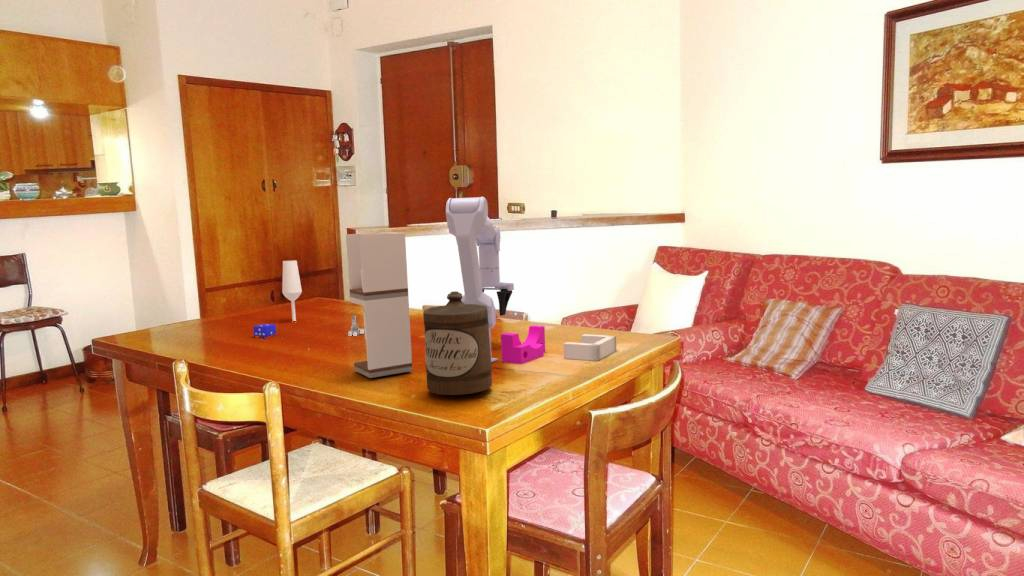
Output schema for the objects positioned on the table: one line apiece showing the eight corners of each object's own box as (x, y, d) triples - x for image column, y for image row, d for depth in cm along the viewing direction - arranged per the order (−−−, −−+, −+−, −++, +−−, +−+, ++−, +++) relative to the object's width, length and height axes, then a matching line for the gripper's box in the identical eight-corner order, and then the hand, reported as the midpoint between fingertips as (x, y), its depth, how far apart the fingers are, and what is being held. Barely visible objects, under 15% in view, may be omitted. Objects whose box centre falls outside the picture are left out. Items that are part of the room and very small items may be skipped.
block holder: (597, 361, 182) (597, 345, 181) (563, 358, 186) (563, 343, 186) (616, 350, 194) (616, 336, 193) (584, 348, 198) (584, 334, 198)
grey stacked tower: (395, 363, 188) (388, 232, 183) (412, 370, 179) (404, 232, 174) (354, 370, 181) (345, 234, 177) (369, 378, 173) (360, 235, 168)
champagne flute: (281, 329, 250) (276, 262, 247) (290, 326, 257) (285, 260, 254) (299, 329, 249) (294, 261, 246) (307, 325, 255) (302, 259, 253)
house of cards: (371, 341, 223) (370, 317, 222) (344, 342, 223) (342, 318, 222) (377, 336, 231) (376, 313, 231) (351, 337, 232) (349, 314, 231)
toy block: (521, 364, 182) (520, 336, 181) (502, 362, 185) (500, 334, 185) (552, 353, 194) (552, 326, 193) (534, 351, 197) (533, 325, 197)
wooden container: (415, 393, 157) (410, 295, 154) (445, 377, 170) (440, 287, 168) (476, 397, 151) (471, 296, 149) (501, 380, 165) (498, 287, 163)
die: (267, 342, 227) (265, 326, 226) (254, 341, 228) (252, 326, 228) (276, 339, 231) (275, 324, 231) (264, 338, 233) (263, 323, 232)
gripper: (518, 266, 203) (519, 313, 205) (475, 266, 210) (477, 311, 212) (506, 269, 197) (508, 317, 199) (462, 268, 204) (464, 315, 206)
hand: (491, 314), depth 205 cm, fingers open, 7 cm apart
